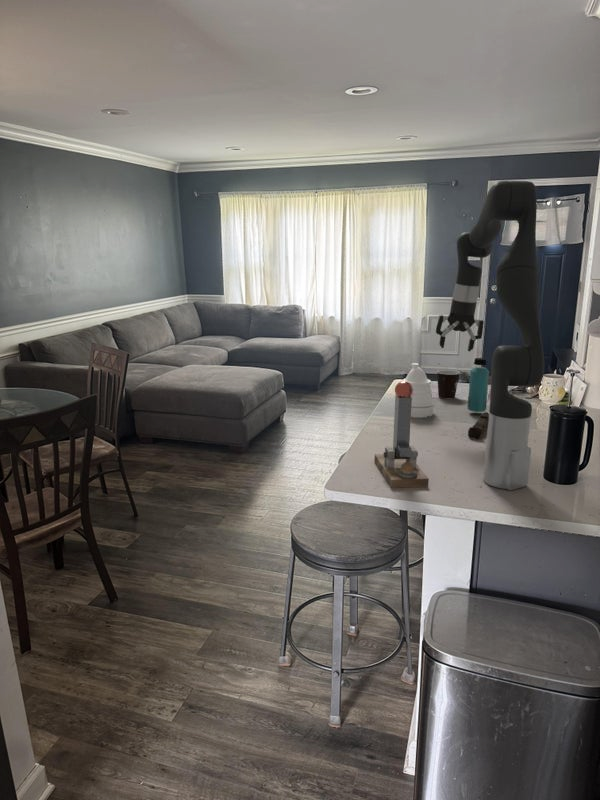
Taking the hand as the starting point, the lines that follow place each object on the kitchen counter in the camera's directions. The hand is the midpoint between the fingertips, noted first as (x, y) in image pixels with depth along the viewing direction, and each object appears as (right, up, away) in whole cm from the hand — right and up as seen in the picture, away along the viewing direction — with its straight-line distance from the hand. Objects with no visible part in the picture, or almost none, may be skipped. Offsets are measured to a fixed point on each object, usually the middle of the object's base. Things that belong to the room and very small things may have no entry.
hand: (455, 349), depth 176 cm
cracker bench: (-25, -35, -39) cm, 58 cm away
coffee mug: (+7, -16, +41) cm, 45 cm away
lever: (-25, -32, -41) cm, 57 cm away
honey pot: (-9, -21, +18) cm, 30 cm away
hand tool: (+7, -27, -3) cm, 28 cm away
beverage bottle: (+12, -22, +17) cm, 30 cm away
